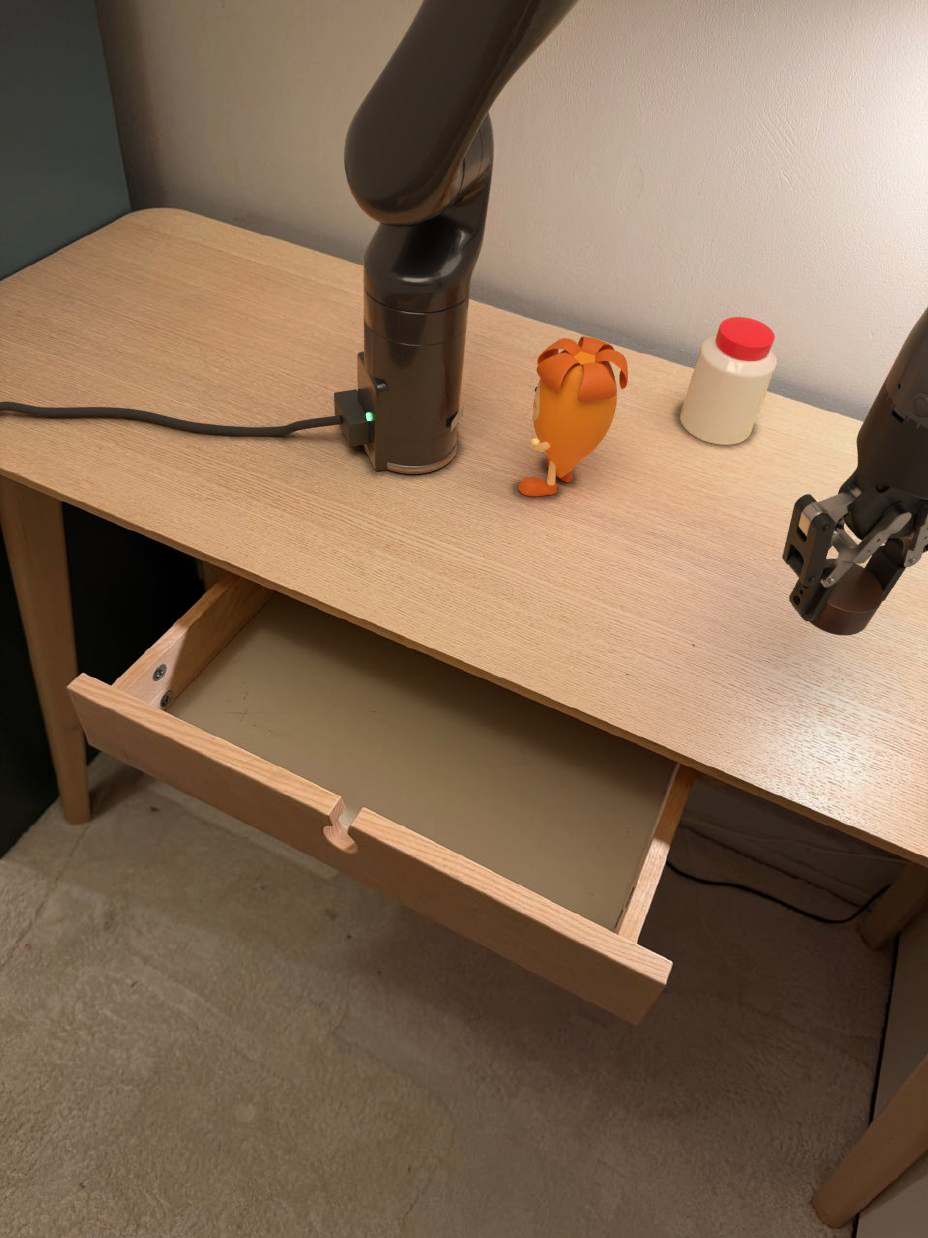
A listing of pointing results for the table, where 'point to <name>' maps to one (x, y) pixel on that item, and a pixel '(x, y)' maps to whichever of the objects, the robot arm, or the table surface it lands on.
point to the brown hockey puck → (851, 603)
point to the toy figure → (572, 406)
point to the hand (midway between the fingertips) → (835, 602)
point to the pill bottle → (730, 382)
